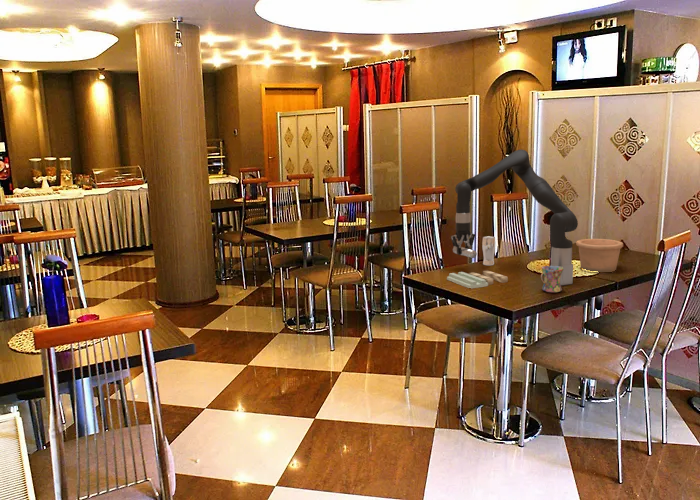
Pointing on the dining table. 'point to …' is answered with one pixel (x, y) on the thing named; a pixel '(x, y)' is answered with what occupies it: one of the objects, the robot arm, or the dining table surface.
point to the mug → (551, 278)
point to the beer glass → (488, 250)
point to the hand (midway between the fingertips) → (463, 254)
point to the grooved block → (467, 280)
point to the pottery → (599, 254)
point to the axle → (466, 252)
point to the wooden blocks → (490, 277)
